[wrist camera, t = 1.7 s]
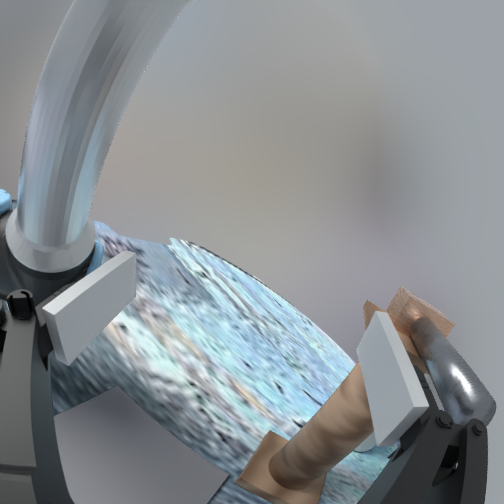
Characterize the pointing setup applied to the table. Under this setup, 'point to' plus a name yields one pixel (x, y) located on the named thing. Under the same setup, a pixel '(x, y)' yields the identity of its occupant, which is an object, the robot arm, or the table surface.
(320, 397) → the table surface
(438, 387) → the wooden mallet
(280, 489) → the bobbin stand
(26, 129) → the robot arm
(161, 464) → the rubber mat
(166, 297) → the table surface
